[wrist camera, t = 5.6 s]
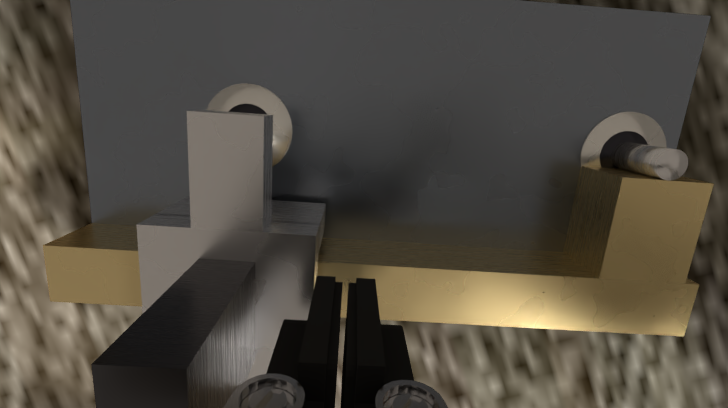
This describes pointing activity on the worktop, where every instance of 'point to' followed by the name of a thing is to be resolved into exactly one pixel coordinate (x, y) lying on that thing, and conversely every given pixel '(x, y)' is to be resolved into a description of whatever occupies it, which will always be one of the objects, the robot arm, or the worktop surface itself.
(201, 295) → the slider
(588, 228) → the beam
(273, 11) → the hole plate
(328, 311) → the robot arm
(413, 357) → the worktop surface
